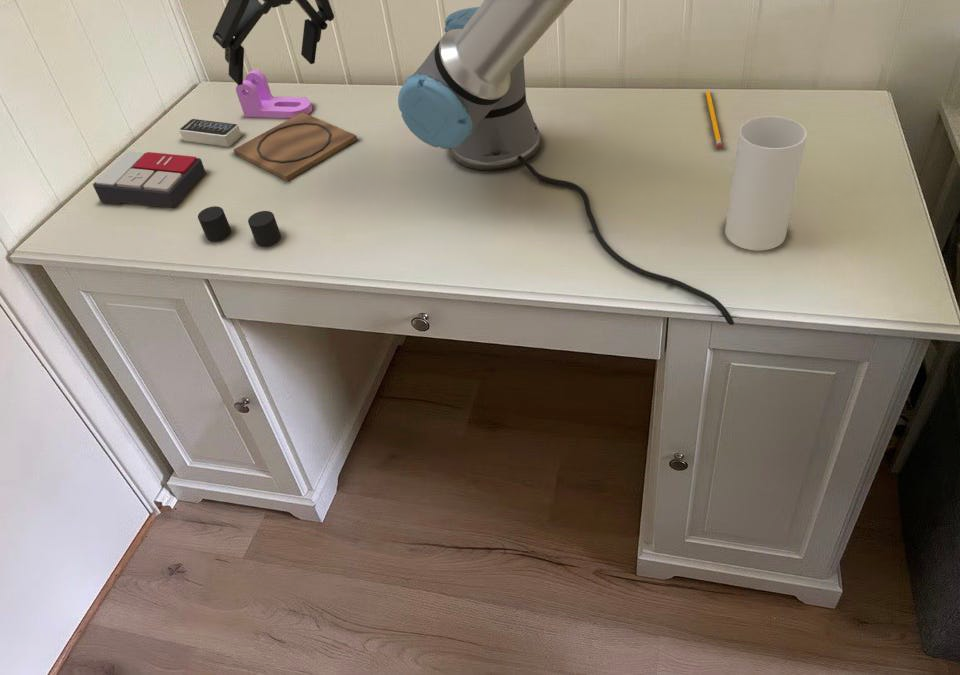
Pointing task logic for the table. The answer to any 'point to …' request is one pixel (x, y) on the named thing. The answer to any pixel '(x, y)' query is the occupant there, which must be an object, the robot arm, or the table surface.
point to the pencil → (714, 120)
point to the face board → (295, 145)
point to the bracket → (268, 99)
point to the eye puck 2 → (264, 228)
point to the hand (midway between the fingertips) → (272, 69)
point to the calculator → (149, 179)
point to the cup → (764, 181)
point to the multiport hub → (210, 132)
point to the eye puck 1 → (214, 224)
